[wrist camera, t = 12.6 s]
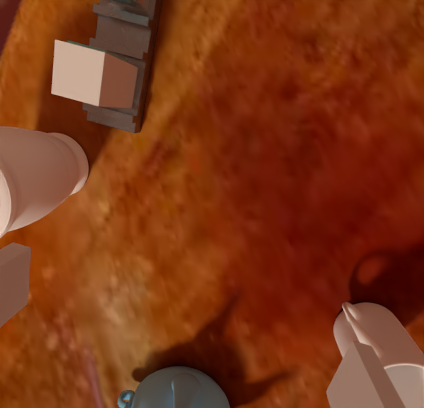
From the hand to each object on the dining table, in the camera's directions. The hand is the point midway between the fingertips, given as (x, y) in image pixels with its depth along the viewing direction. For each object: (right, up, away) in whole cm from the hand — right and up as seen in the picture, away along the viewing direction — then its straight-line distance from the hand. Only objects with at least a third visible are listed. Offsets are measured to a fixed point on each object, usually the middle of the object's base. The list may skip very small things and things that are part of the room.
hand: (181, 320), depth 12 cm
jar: (-19, +10, +27) cm, 35 cm away
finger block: (-10, +18, +21) cm, 30 cm away
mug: (+22, -11, +29) cm, 38 cm away
